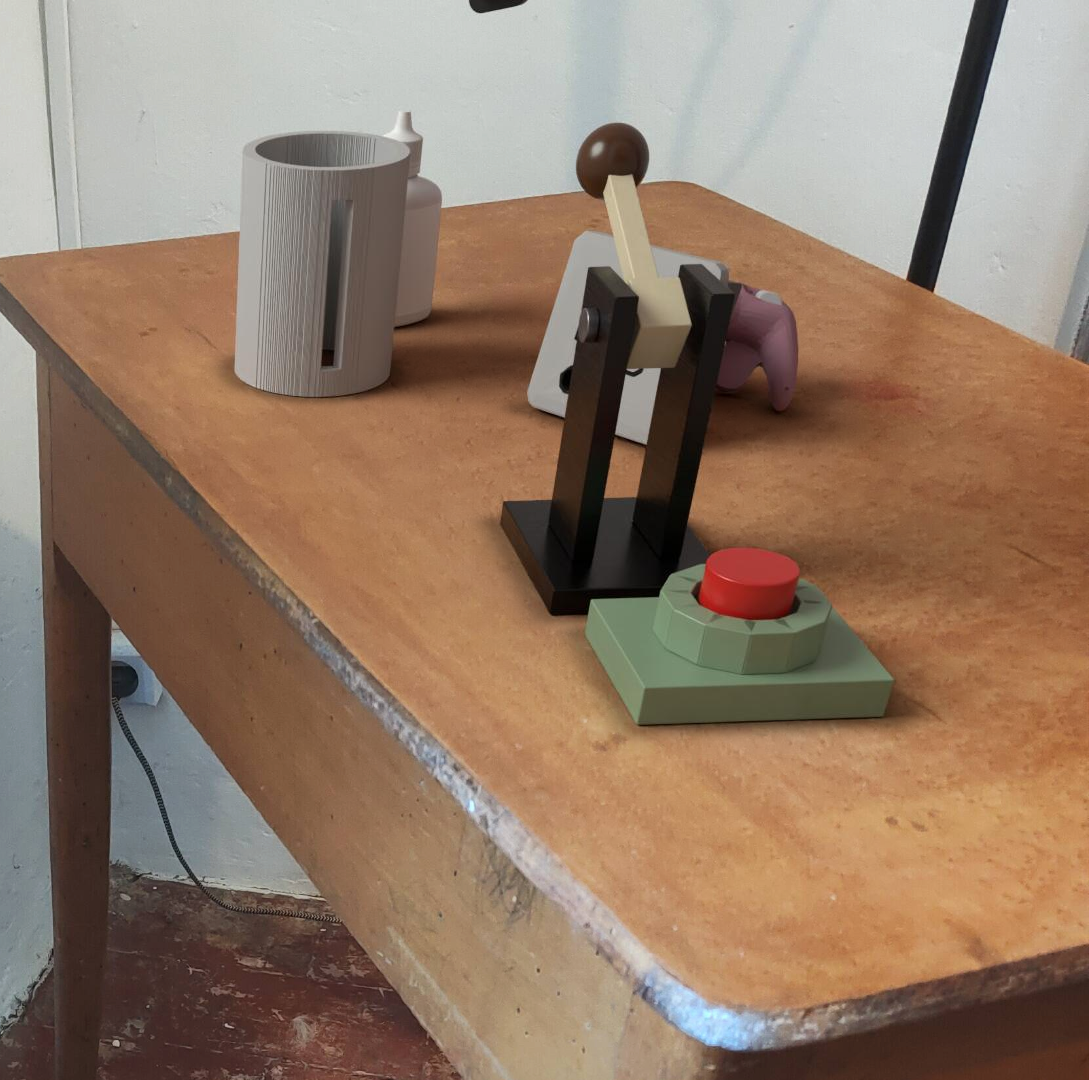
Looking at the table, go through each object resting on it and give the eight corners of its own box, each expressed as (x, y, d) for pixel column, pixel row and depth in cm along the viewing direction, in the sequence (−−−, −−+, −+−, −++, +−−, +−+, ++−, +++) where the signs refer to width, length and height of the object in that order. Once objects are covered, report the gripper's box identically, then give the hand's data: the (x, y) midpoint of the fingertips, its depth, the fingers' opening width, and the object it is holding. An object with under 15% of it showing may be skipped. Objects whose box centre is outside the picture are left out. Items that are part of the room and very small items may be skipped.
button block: (811, 627, 76) (831, 551, 74) (883, 717, 70) (908, 637, 68) (584, 634, 76) (597, 559, 74) (636, 725, 70) (652, 645, 68)
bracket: (499, 524, 85) (537, 249, 77) (661, 519, 85) (716, 244, 78) (549, 615, 78) (598, 319, 70) (728, 609, 78) (796, 313, 70)
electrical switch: (520, 408, 98) (556, 231, 92) (578, 396, 101) (616, 223, 95) (659, 456, 92) (706, 269, 87) (716, 441, 95) (765, 260, 89)
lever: (562, 169, 81) (580, 107, 78) (631, 167, 81) (651, 105, 78) (610, 377, 75) (631, 319, 73) (683, 375, 76) (707, 317, 73)
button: (772, 585, 72) (782, 545, 71) (803, 624, 70) (814, 583, 69) (686, 587, 72) (695, 548, 71) (714, 627, 70) (723, 586, 68)
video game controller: (780, 420, 100) (799, 290, 98) (797, 409, 95) (818, 273, 94) (602, 411, 101) (619, 283, 100) (611, 400, 97) (628, 266, 95)
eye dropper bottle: (434, 330, 108) (456, 119, 101) (343, 330, 109) (358, 119, 101) (428, 309, 112) (449, 102, 104) (340, 308, 112) (355, 103, 105)
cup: (322, 335, 108) (337, 123, 101) (421, 375, 102) (444, 153, 95) (204, 364, 104) (210, 146, 97) (300, 408, 98) (314, 178, 91)
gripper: (554, -600, 54) (581, -5, 61) (660, -534, 64) (672, -31, 72) (327, -515, 58) (380, 36, 65) (462, -466, 68) (494, 5, 76)
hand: (533, 0), depth 68 cm, fingers open, 8 cm apart
